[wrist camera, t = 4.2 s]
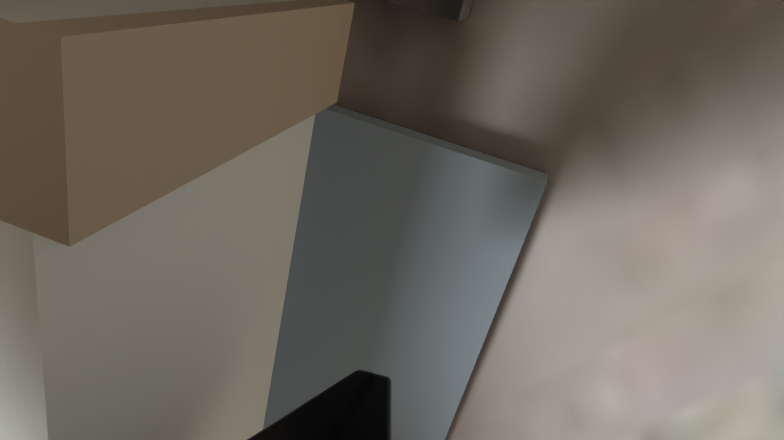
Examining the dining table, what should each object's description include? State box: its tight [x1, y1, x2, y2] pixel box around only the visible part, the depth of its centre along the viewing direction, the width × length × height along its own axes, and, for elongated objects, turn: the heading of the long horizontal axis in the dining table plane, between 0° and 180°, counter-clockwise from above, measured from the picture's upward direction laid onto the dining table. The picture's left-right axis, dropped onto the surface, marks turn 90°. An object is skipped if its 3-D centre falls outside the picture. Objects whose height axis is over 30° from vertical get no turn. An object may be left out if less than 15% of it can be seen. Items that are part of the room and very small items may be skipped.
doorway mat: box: [263, 104, 549, 440], centre depth 12 cm, size 10×10×1 cm
